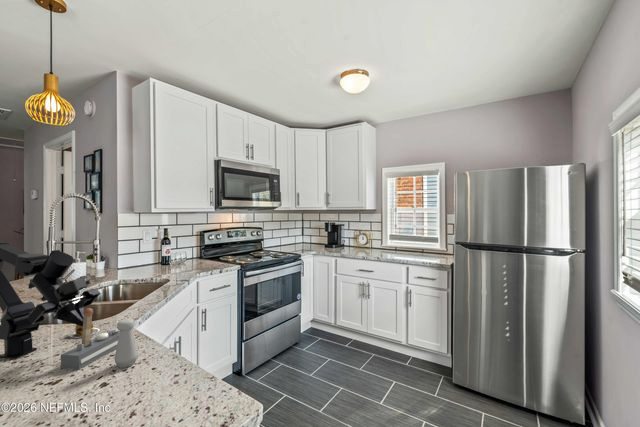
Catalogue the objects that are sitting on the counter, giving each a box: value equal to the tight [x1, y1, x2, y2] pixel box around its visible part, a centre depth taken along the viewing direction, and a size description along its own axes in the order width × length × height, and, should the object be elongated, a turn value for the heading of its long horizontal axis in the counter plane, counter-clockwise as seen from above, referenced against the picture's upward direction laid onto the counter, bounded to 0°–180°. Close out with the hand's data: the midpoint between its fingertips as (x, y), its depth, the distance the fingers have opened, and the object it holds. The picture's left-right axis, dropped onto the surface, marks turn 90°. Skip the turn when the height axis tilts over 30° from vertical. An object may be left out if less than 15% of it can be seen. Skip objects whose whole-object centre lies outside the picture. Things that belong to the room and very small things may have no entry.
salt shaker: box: [113, 318, 139, 369], centre depth 89 cm, size 6×6×13 cm
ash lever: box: [80, 307, 94, 346], centre depth 92 cm, size 2×2×11 cm
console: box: [60, 330, 120, 371], centre depth 96 cm, size 6×18×6 cm, turn 172°
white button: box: [95, 332, 108, 340], centre depth 98 cm, size 3×3×1 cm
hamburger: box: [69, 322, 101, 339], centre depth 113 cm, size 12×12×6 cm
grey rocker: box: [106, 327, 120, 333], centre depth 102 cm, size 3×2×1 cm, turn 82°
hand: (84, 324), depth 92 cm, fingers closed, pressing on ash lever
